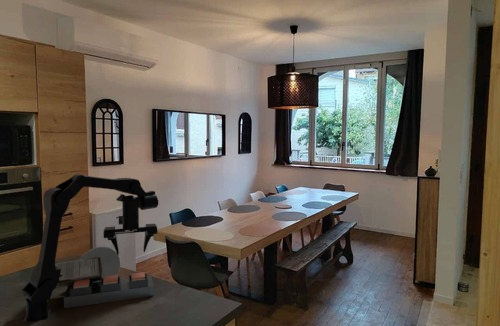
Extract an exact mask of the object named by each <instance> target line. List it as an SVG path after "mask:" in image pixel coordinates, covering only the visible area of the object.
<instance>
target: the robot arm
mask: <svg viewBox="0 0 500 326" xmlns="http://www.w3.org/2000/svg"><path fill="white" fill-rule="evenodd" d="M84 188H93V189H95V188H96V189H105V190H114V191H117V192H120V193H121V194H120V195H119V196H118V197H116V201H118V202H121V203H122V206H121V208H122V210H121V211H122V215H118V225H122V228H116V225H115V226H105V227H104V228H103V239H107V241H110V242H111V244H112V245H113V247H114V251H116V252H117V255H120V252H119V249H120V248H119V244H118V243H119V242H118V237H117V235H123V234H134V233H144V240H143V246H142V249H143V251H142V252H143V253H145V252H146V249H147V247H148V245H149V242H150V240H151V238H152V237H155V235H157V234H158V226H157V224H156V223H146V224H145V226H140V219H139V218H140V215H139V214H140V211H139V210H141V211H146V210H150V209H156V208H158V206H159V199H158V196H157V195H156V191H154V190H149V191H145V189H144V188H143V187H142V185H141V182H140V180H139V179H137V178H131V177H117V178H108V177H107V178H106V177H98V176H97V177H96V176H89V175H84V174H78V173H77V174H74V175H72V176H71V177H70V178H68V179H67V180H64V181H63V182H61V183H58V185H56V186H55V187H50V188H48V189H47V190H45V191H44V193H43V209H44V213H45V220H44V226H43V232H42V237H41V243H40V244H41V245H40V251H39V255H38V262H37V264H36V265H35V266H34V268H33V269H32V273H31V276H30V279H29V282H27V284H26V285H25V286H24V287H23V288H22V289H21V293H22V294H23V297H25V313H26V314H25V317H24V319H23V321H22V323H28V322H29V323H30V322H37V321H42V320H48V319H49V316H50V314H51V312H52V309H51V308H49V300H50V299H51V297H52V294H53V291H54V290H56V289H55V288H56V286H57V282H58V283H60V281H59V276H60V273H61V269H60V268H58V267H56V266H55V264H56V256H57V253H58V252H57V251H58V245H59V238H60V231H61V226H62V220H63V217H64V215H65V214H66V212H67V210H68V208H69V205H70V202H71V200H72V199H73V198H75V197H76V196H77V195H78V194H79V193H80V191H81V190H82V189H84ZM125 194H129V195H125Z"/></svg>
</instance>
